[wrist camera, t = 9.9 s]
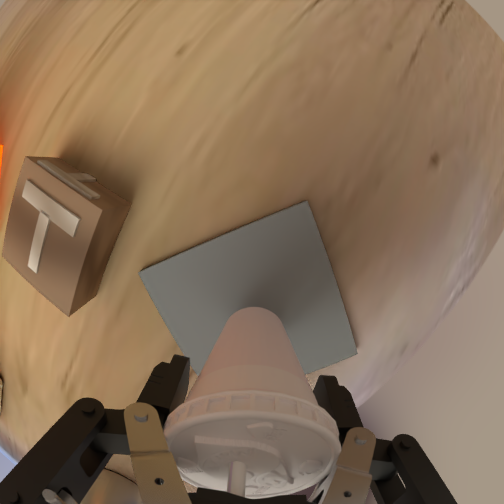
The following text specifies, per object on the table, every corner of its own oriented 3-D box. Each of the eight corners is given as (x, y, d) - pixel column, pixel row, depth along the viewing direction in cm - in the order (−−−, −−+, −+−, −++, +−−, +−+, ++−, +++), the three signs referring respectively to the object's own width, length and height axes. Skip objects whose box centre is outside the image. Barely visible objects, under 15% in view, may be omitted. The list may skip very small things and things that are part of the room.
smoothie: (257, 262, 15) (251, 550, 2) (326, 334, 16) (404, 547, 3) (182, 329, 17) (87, 537, 3) (251, 387, 18) (243, 581, 4)
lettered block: (96, 295, 19) (67, 318, 15) (32, 244, 18) (0, 256, 14) (133, 201, 17) (102, 207, 13) (60, 155, 16) (24, 153, 12)
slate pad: (355, 349, 19) (357, 353, 19) (215, 395, 21) (214, 400, 20) (305, 200, 17) (307, 201, 16) (141, 270, 18) (138, 272, 18)
